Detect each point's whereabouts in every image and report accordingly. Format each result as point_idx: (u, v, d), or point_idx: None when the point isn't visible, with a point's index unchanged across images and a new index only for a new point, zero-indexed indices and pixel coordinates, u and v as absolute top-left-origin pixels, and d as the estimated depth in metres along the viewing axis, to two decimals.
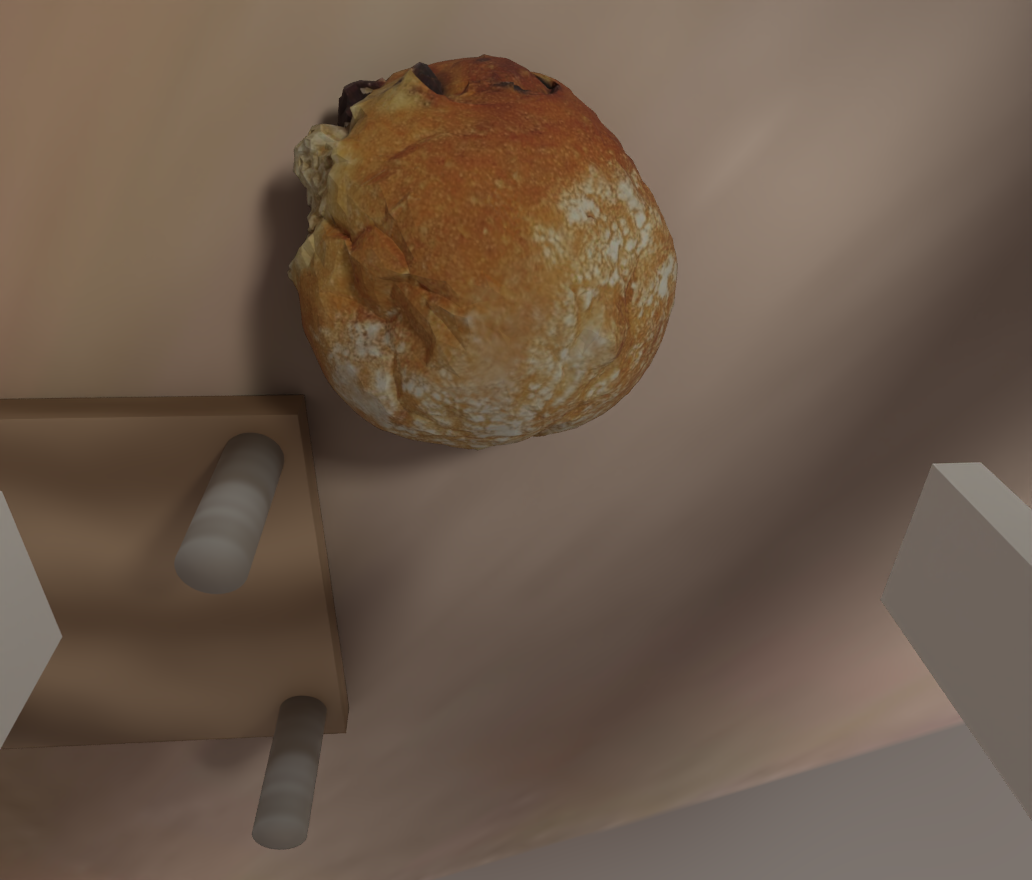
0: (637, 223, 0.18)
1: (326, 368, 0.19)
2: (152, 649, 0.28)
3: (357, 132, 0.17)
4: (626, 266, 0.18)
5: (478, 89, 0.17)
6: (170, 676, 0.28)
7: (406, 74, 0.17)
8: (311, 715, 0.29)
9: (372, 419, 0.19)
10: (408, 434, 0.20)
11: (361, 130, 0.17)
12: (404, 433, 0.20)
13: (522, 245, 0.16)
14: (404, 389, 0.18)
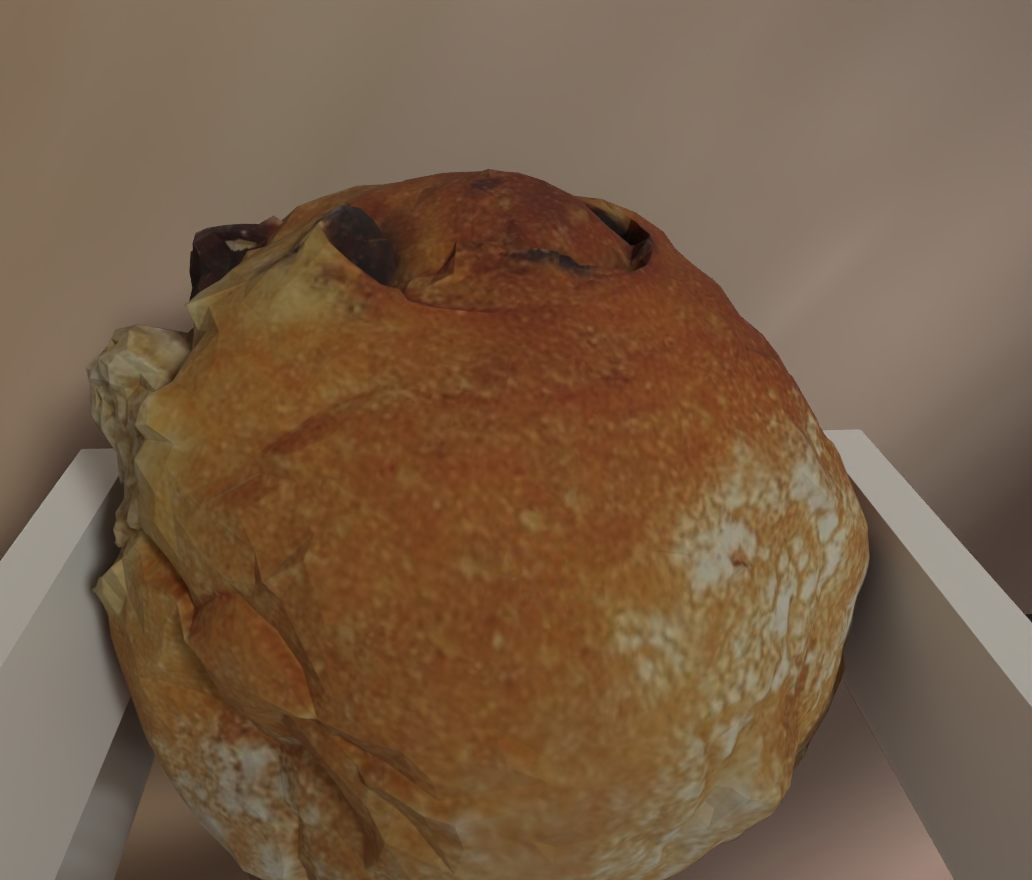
0: (820, 534, 0.08)
1: None
2: None
3: (194, 374, 0.07)
4: (803, 634, 0.08)
5: (477, 265, 0.07)
6: None
7: (309, 235, 0.07)
8: None
9: None
10: None
11: (203, 370, 0.07)
12: None
13: (587, 664, 0.07)
14: None
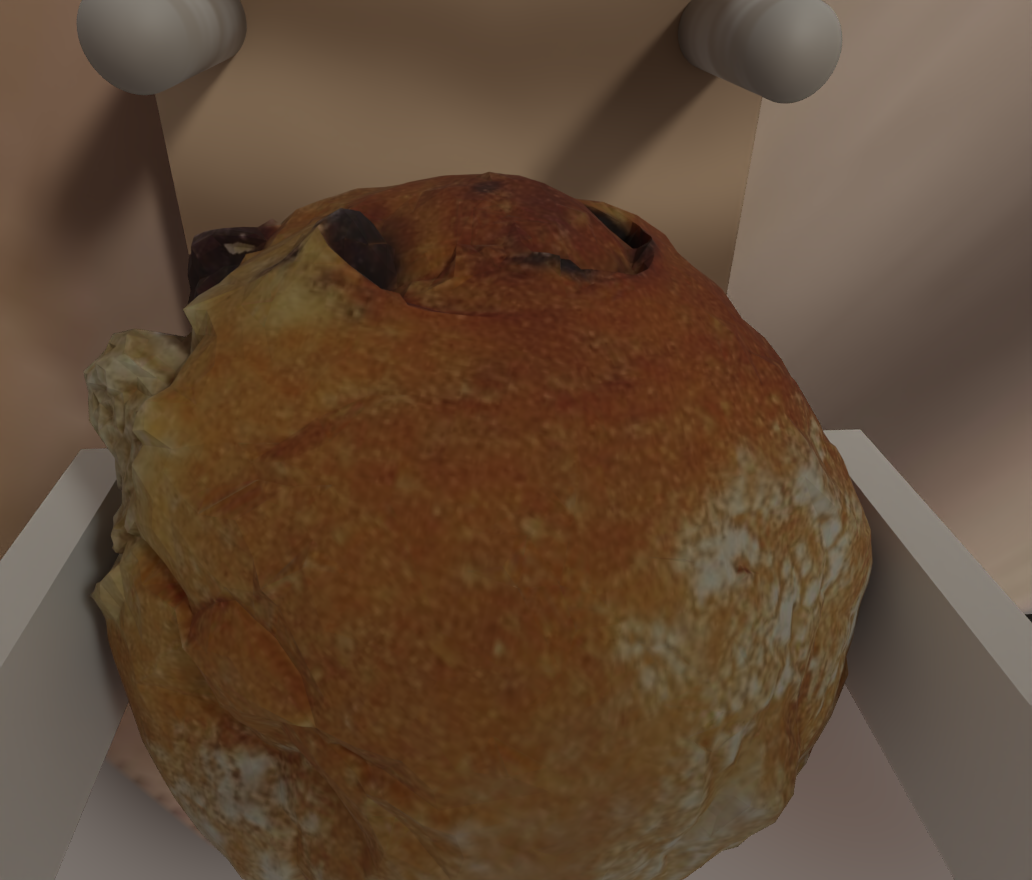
0: (823, 540, 0.08)
1: None
2: None
3: (191, 379, 0.07)
4: (805, 639, 0.08)
5: (478, 269, 0.07)
6: None
7: (308, 239, 0.07)
8: None
9: None
10: None
11: (200, 375, 0.07)
12: None
13: (589, 675, 0.07)
14: None
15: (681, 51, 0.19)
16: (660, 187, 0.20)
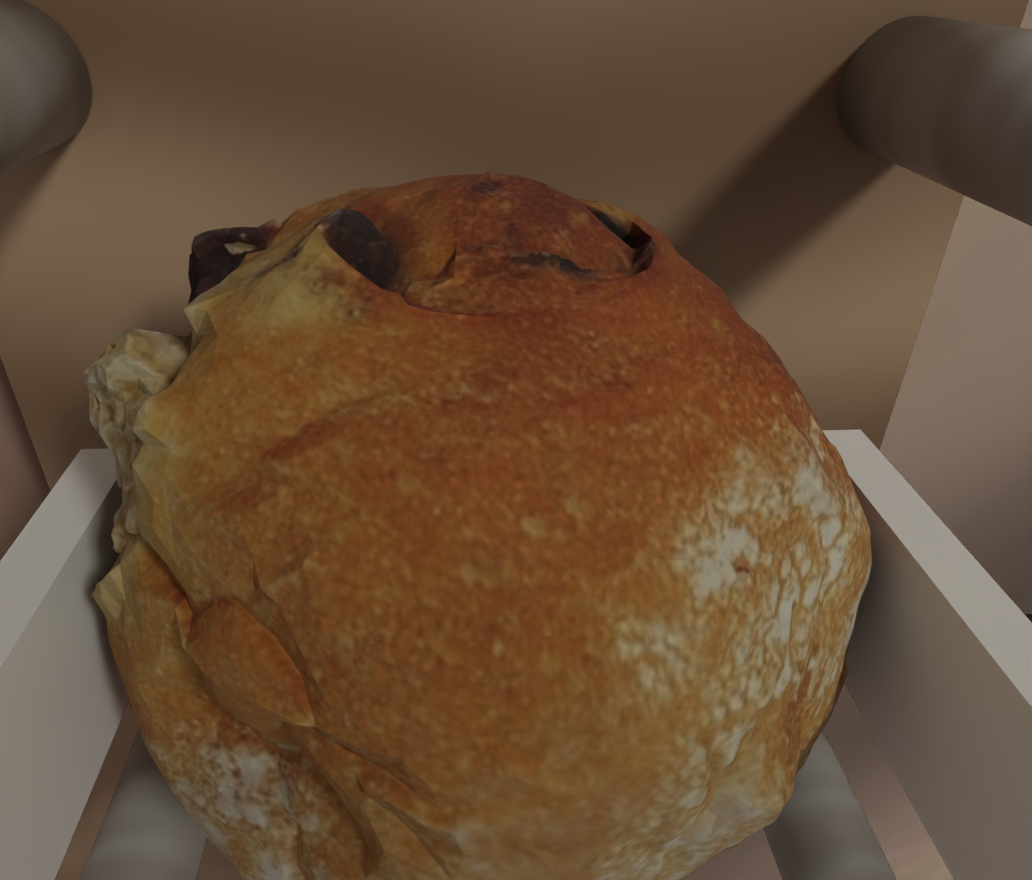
0: (822, 540, 0.08)
1: None
2: None
3: (192, 379, 0.07)
4: (805, 639, 0.08)
5: (478, 269, 0.07)
6: None
7: (308, 239, 0.07)
8: None
9: None
10: None
11: (201, 374, 0.07)
12: None
13: (589, 673, 0.07)
14: None
15: (841, 124, 0.11)
16: (786, 330, 0.13)
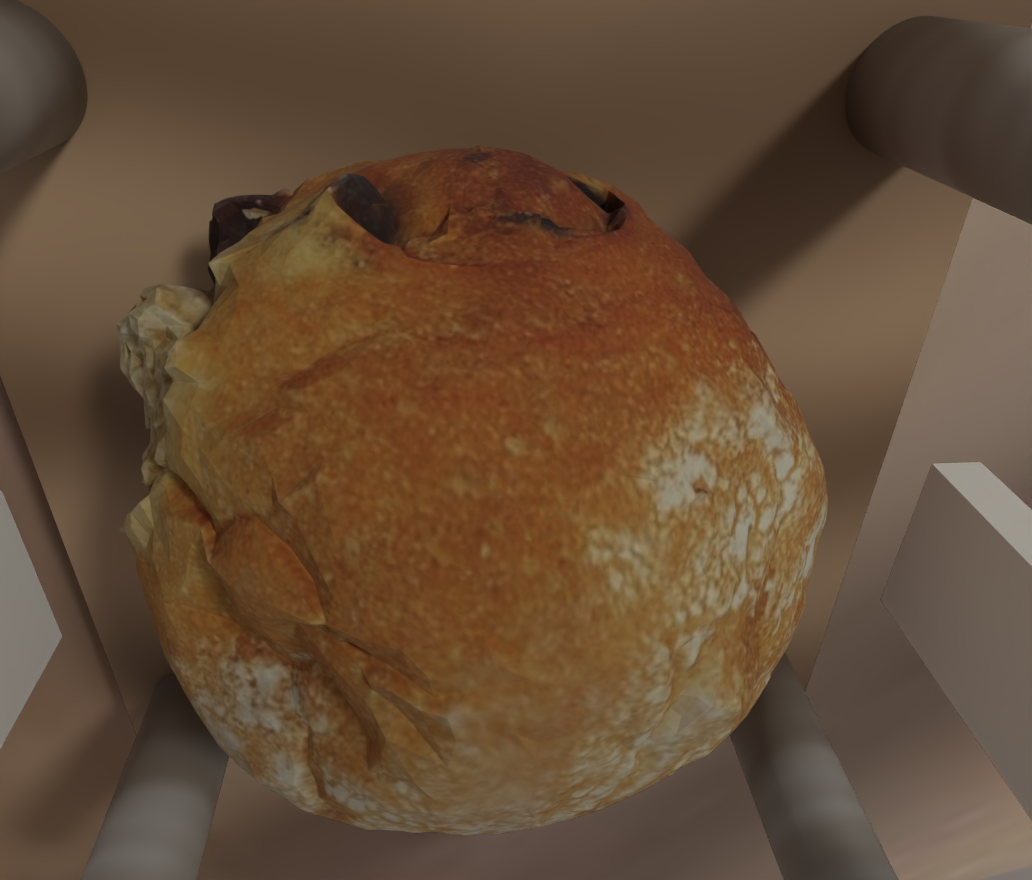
0: (777, 473, 0.09)
1: None
2: None
3: (217, 322, 0.08)
4: (760, 559, 0.09)
5: (468, 226, 0.08)
6: None
7: (319, 199, 0.08)
8: (791, 676, 0.16)
9: None
10: None
11: (225, 318, 0.08)
12: None
13: (563, 575, 0.07)
14: (330, 792, 0.09)
15: (848, 126, 0.11)
16: (791, 335, 0.13)
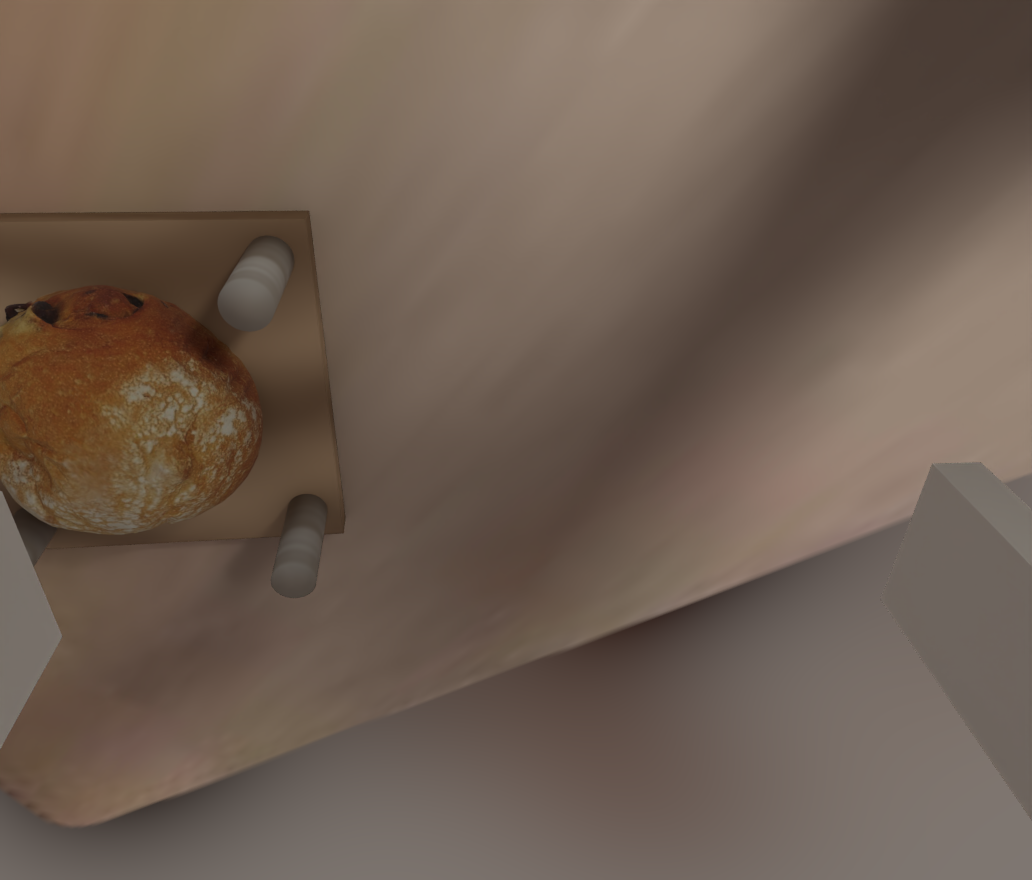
0: (191, 394, 0.28)
1: None
2: None
3: None
4: (183, 422, 0.28)
5: (76, 317, 0.27)
6: None
7: (27, 309, 0.27)
8: (315, 506, 0.35)
9: (39, 519, 0.29)
10: None
11: None
12: (62, 527, 0.29)
13: (94, 418, 0.26)
14: (43, 503, 0.28)
15: None
16: (262, 348, 0.31)
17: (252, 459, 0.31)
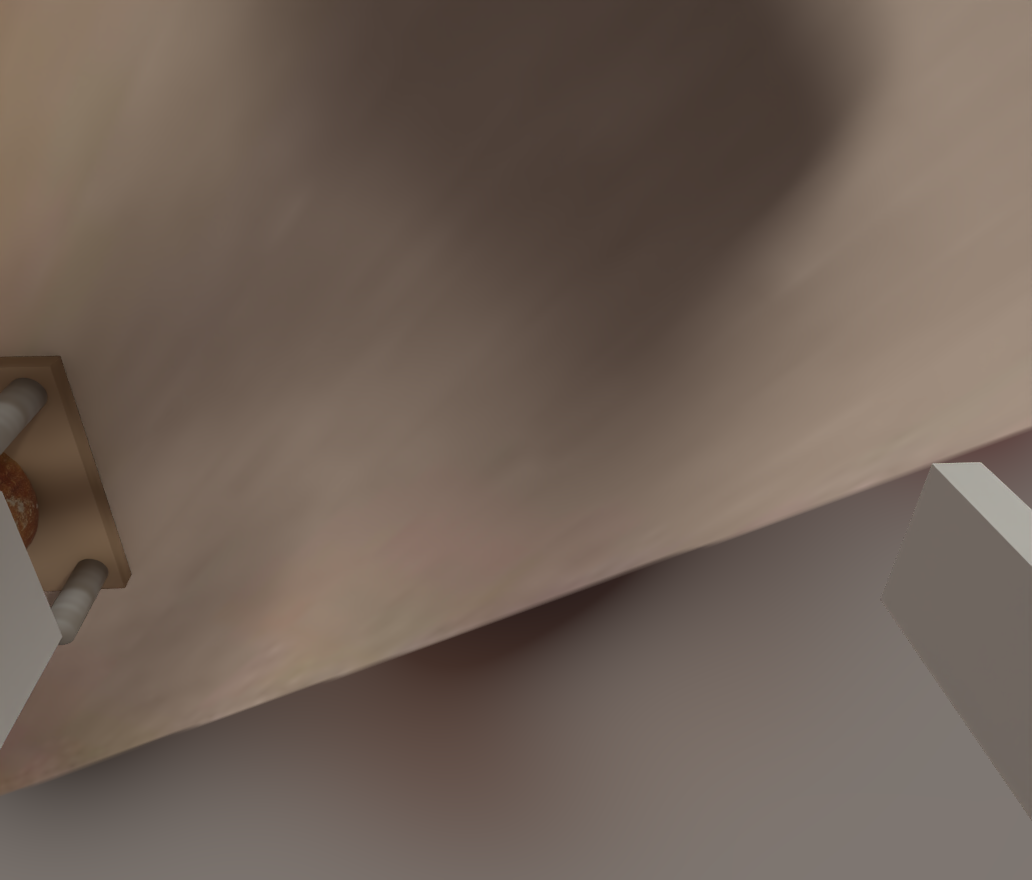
0: None
1: None
2: None
3: None
4: None
5: None
6: None
7: None
8: (93, 570, 0.44)
9: None
10: None
11: None
12: None
13: None
14: None
15: None
16: (33, 455, 0.41)
17: (23, 540, 0.41)
